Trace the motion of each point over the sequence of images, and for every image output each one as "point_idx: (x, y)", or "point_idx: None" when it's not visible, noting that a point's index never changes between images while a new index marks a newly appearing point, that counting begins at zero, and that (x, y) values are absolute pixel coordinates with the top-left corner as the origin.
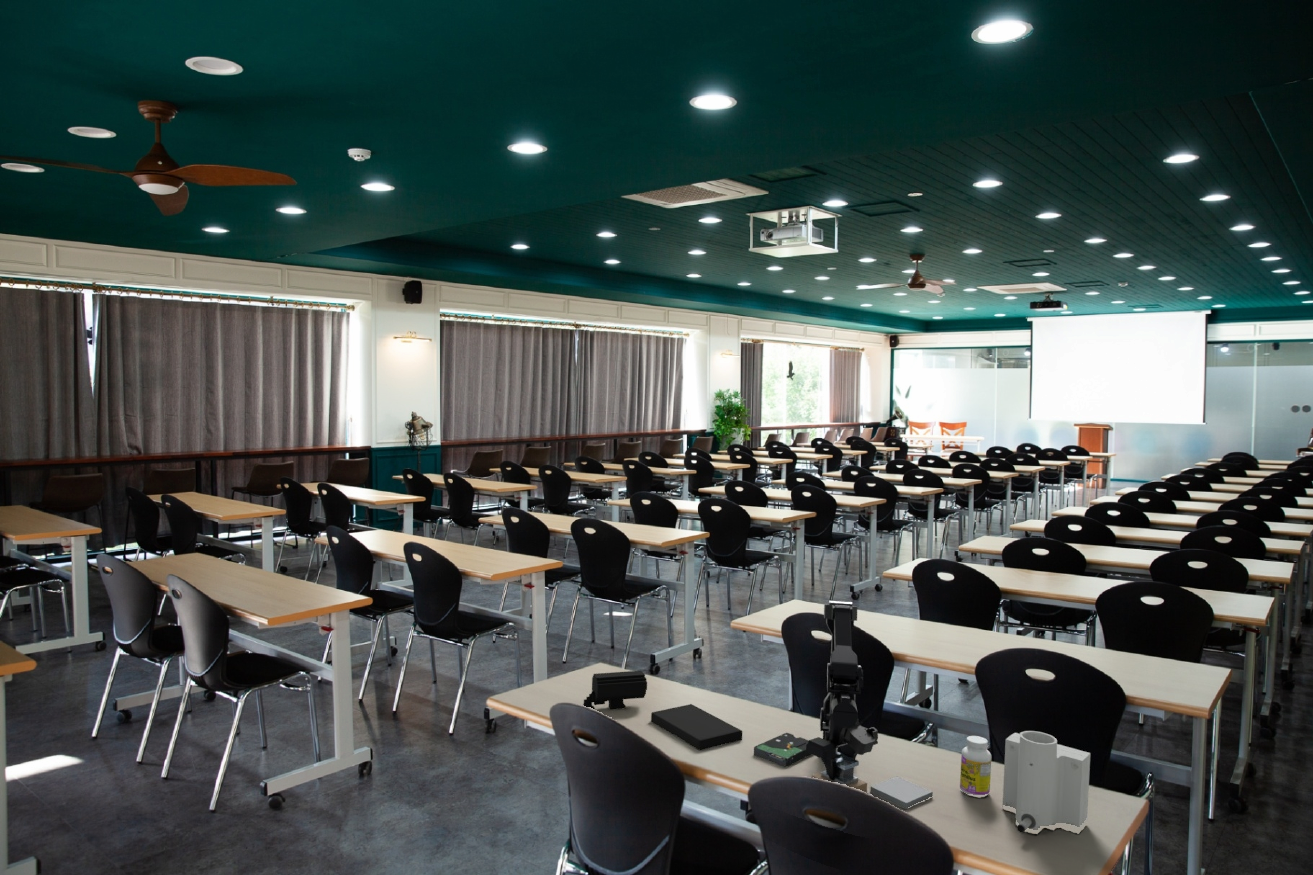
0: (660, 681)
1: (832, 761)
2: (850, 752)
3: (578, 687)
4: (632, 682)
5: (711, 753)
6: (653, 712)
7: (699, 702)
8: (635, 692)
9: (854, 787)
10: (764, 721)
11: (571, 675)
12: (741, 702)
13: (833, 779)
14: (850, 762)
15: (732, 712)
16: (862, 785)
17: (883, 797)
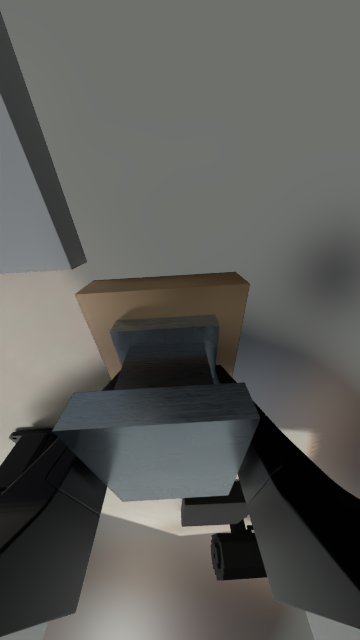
0: (157, 528)
1: (348, 492)
2: (62, 517)
3: (227, 527)
4: (239, 567)
5: None
6: (236, 523)
7: (155, 516)
8: (232, 546)
9: (174, 289)
10: (113, 497)
11: (213, 532)
12: (109, 513)
13: (221, 366)
14: (151, 437)
15: (137, 507)
16: (113, 290)
17: (47, 163)
